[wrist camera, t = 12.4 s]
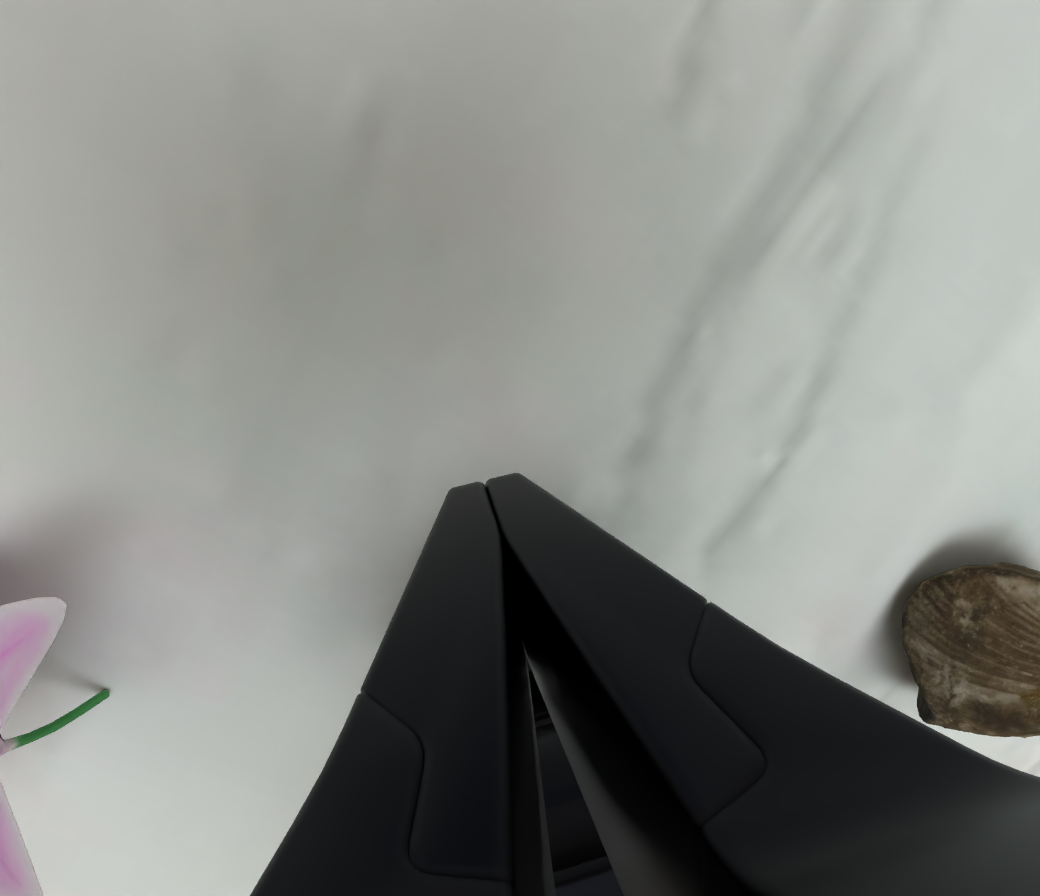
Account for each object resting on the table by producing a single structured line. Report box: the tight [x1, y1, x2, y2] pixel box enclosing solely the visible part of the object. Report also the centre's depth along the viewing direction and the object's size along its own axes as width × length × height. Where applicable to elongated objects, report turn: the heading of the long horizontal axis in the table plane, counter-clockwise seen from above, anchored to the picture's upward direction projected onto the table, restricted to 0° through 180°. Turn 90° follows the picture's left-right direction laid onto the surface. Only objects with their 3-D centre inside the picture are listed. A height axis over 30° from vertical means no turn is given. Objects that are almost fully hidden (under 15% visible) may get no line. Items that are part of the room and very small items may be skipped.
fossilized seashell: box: [902, 562, 1040, 738], centre depth 31 cm, size 8×7×10 cm
